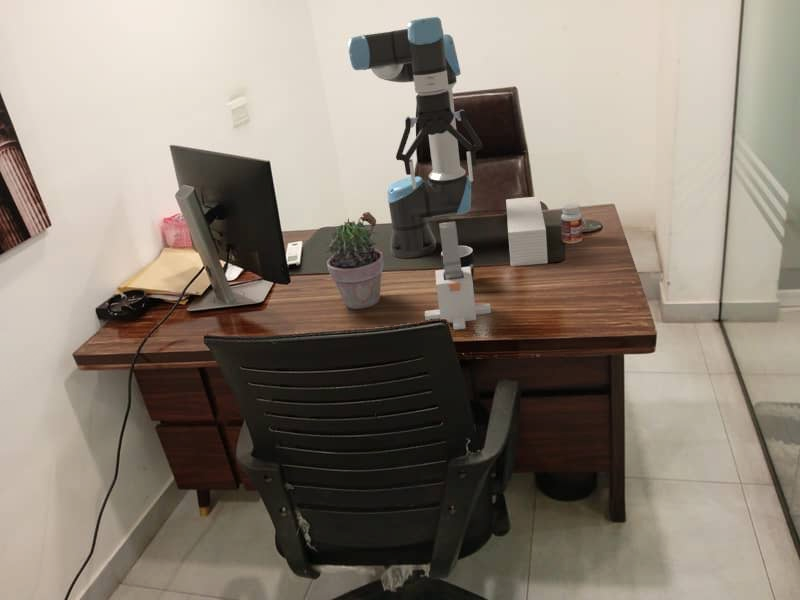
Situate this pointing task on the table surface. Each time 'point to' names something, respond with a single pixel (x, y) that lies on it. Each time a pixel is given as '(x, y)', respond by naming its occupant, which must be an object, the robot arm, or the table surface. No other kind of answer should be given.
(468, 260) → the mug
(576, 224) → the pill bottle
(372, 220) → the potted plant
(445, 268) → the post
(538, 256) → the stack of papers
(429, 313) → the housing
